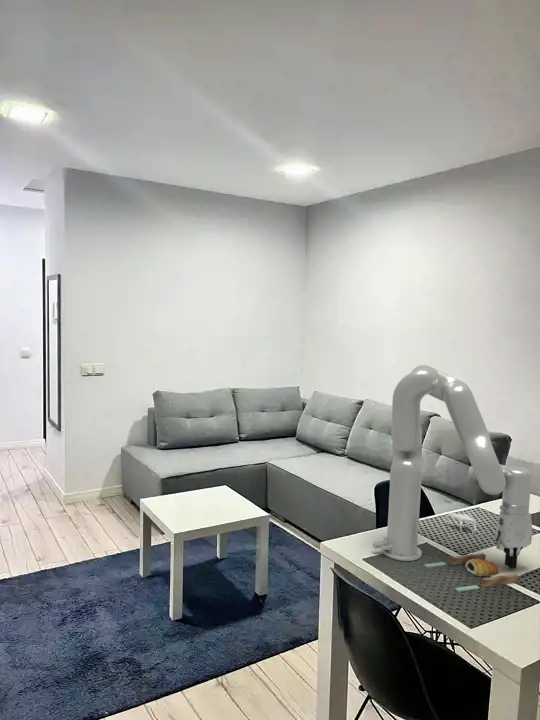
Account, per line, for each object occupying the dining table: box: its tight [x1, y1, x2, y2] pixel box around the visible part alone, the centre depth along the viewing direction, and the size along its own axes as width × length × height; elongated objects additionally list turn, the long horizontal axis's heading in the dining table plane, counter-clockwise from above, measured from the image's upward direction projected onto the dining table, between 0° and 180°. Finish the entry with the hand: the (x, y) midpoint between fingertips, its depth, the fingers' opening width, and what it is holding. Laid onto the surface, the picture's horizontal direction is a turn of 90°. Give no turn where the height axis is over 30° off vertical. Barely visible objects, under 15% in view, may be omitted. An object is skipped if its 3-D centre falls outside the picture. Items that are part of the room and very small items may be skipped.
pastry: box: [464, 558, 500, 577], centre depth 169 cm, size 9×7×4 cm
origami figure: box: [444, 512, 477, 536], centre depth 203 cm, size 12×8×5 cm
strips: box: [424, 561, 480, 593], centre depth 165 cm, size 7×16×1 cm, turn 19°
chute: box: [449, 552, 520, 588], centre depth 168 cm, size 12×15×2 cm
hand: (510, 566), depth 172 cm, fingers closed
